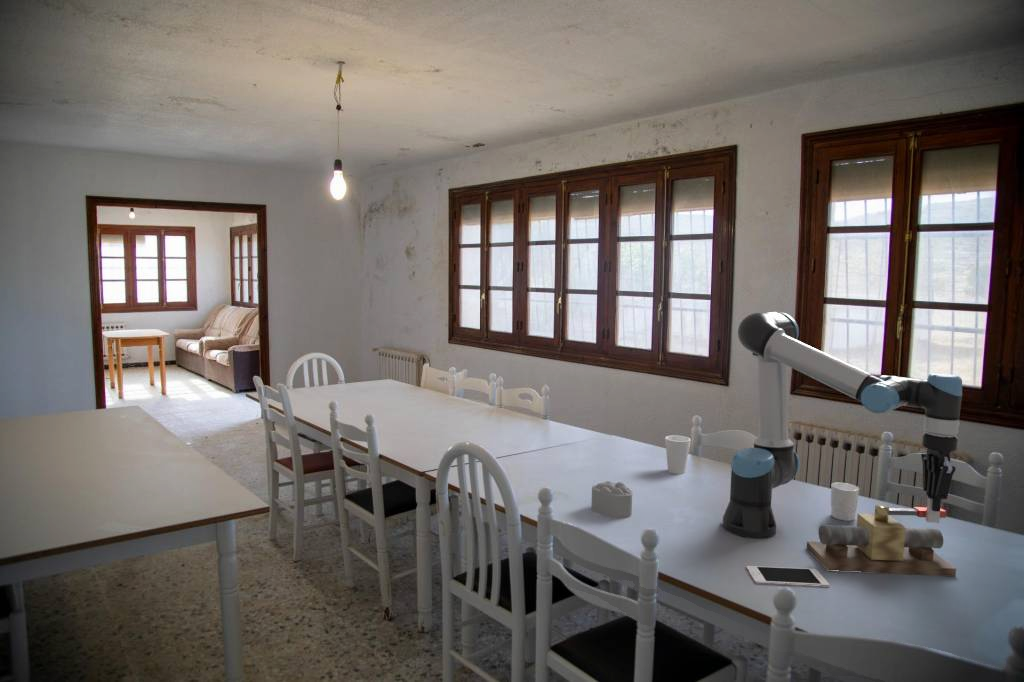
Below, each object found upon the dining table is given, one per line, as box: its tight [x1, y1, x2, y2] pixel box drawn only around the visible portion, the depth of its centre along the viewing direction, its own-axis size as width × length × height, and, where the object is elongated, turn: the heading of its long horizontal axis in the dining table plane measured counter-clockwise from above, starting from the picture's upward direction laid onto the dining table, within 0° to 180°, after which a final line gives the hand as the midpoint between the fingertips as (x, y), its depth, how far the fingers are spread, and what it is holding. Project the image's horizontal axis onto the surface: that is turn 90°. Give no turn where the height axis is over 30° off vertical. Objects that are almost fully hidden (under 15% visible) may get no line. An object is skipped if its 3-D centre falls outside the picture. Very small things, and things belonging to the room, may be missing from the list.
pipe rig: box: [806, 513, 957, 577], centre depth 174 cm, size 32×14×12 cm, turn 87°
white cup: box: [830, 481, 860, 522], centre depth 206 cm, size 8×8×10 cm
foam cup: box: [664, 434, 692, 475], centre depth 249 cm, size 10×9×13 cm
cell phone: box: [745, 565, 830, 587], centre depth 165 cm, size 9×18×1 cm, turn 86°
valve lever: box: [874, 504, 947, 522], centre depth 173 cm, size 3×18×3 cm, turn 89°
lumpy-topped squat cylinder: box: [590, 480, 633, 519], centre depth 208 cm, size 10×13×9 cm
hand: (932, 521), depth 171 cm, fingers closed
